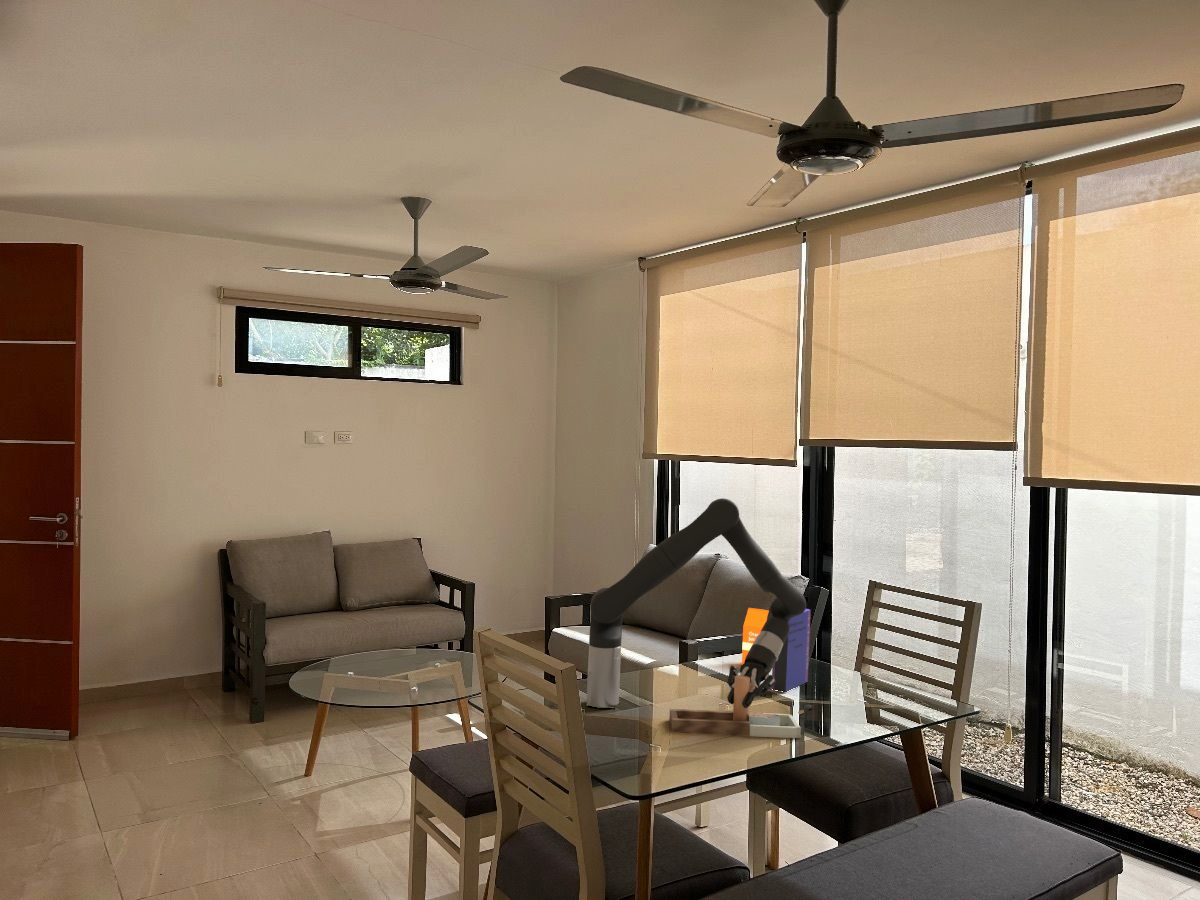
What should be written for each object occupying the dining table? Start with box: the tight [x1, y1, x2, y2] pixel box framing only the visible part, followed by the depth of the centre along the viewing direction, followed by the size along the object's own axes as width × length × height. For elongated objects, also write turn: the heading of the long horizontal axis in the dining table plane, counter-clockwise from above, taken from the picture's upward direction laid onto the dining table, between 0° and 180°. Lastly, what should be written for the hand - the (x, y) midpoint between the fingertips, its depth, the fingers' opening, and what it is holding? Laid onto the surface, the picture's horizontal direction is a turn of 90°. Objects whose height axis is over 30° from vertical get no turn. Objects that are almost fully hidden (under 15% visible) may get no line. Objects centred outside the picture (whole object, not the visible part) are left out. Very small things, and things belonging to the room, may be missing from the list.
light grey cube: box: [748, 711, 765, 725], centre depth 238 cm, size 4×4×4 cm
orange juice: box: [741, 607, 769, 665], centre depth 313 cm, size 8×9×20 cm
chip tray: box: [749, 712, 802, 739], centre depth 238 cm, size 13×12×4 cm
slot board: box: [668, 708, 751, 737], centre depth 238 cm, size 20×12×4 cm, turn 90°
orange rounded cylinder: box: [732, 674, 750, 721], centre depth 238 cm, size 4×4×12 cm
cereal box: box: [771, 608, 811, 693], centre depth 288 cm, size 17×5×24 cm, turn 145°
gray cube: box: [763, 713, 781, 726], centre depth 238 cm, size 4×4×4 cm
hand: (737, 704), depth 237 cm, fingers closed on orange rounded cylinder, 4 cm apart
